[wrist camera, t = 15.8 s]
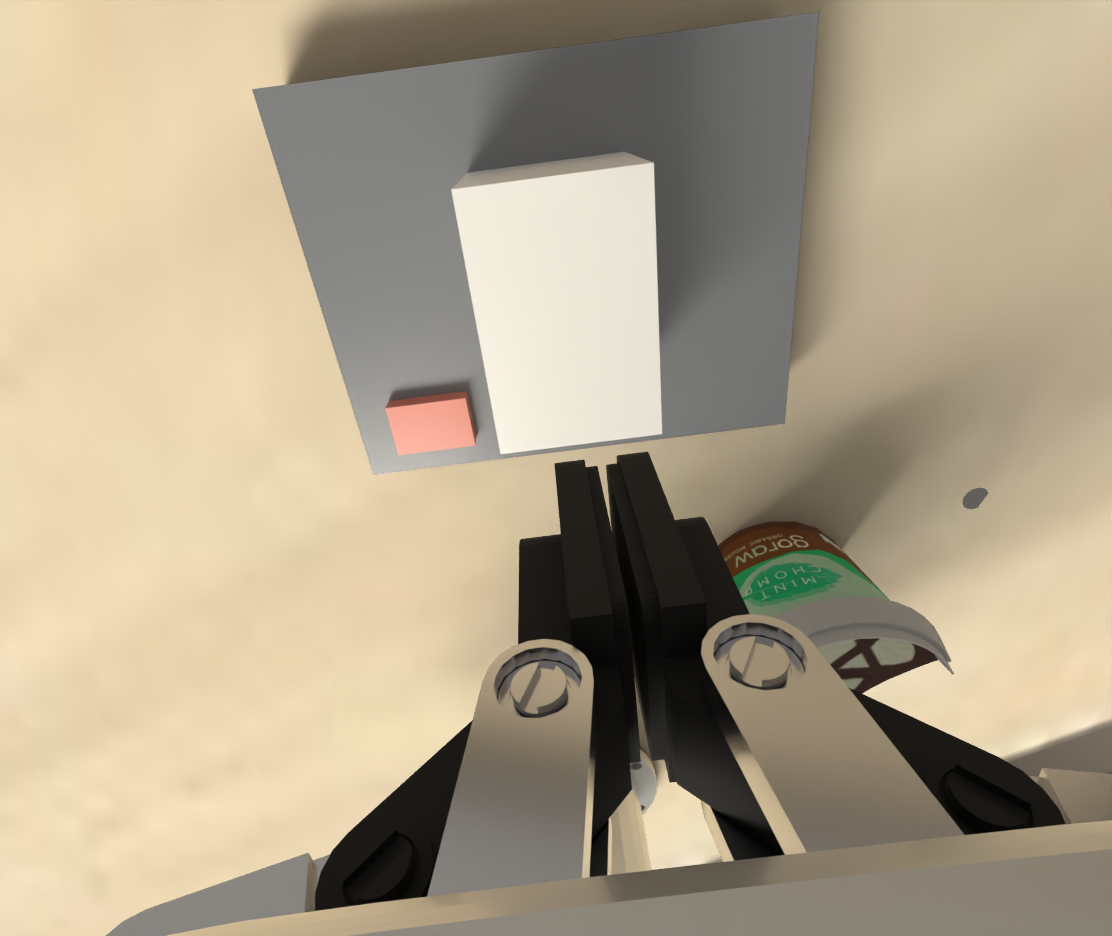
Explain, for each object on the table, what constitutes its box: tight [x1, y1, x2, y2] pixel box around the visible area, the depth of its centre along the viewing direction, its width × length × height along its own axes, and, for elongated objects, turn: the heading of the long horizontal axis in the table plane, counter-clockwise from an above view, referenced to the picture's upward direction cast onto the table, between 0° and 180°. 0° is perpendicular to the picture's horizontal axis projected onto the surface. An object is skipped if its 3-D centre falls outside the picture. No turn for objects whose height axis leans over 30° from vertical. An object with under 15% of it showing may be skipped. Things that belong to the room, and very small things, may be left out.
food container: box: [718, 522, 954, 694], centre depth 33 cm, size 12×6×10 cm, turn 122°
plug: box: [451, 152, 662, 454], centre depth 24 cm, size 9×6×9 cm, turn 7°
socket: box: [252, 12, 819, 475], centre depth 26 cm, size 16×20×4 cm
